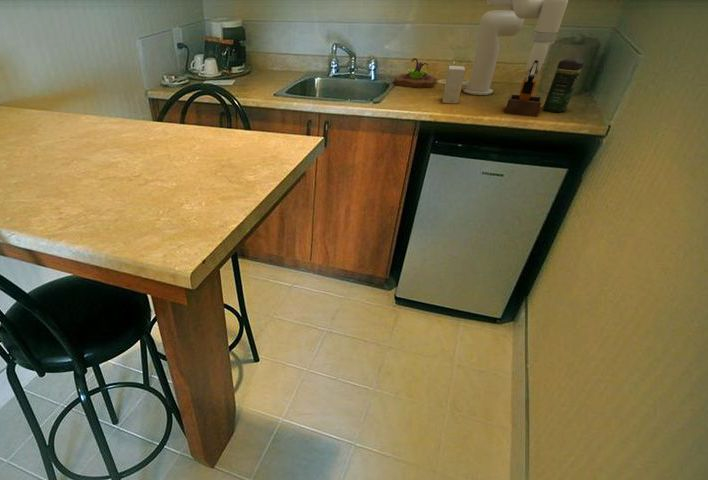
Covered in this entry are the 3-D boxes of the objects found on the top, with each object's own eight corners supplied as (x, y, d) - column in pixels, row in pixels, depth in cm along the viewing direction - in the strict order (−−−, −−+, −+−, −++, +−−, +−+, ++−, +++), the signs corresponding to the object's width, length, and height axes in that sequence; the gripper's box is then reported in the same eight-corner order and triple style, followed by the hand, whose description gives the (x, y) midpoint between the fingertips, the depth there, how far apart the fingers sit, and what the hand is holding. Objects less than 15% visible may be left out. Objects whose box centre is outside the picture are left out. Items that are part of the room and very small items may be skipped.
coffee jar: (561, 113, 158) (581, 60, 147) (540, 110, 162) (557, 58, 151) (568, 109, 163) (588, 57, 152) (547, 105, 168) (565, 54, 157)
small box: (458, 103, 171) (465, 69, 163) (442, 103, 172) (449, 68, 164) (457, 99, 177) (464, 66, 169) (442, 98, 178) (448, 65, 171)
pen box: (504, 112, 160) (508, 99, 157) (507, 107, 166) (511, 94, 163) (536, 116, 155) (541, 102, 152) (537, 110, 162) (542, 97, 159)
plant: (398, 78, 213) (402, 53, 206) (437, 80, 207) (441, 56, 200) (390, 85, 199) (393, 60, 192) (431, 89, 193) (436, 62, 186)
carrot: (525, 107, 163) (539, 65, 153) (529, 110, 159) (544, 68, 149) (512, 106, 163) (525, 65, 154) (516, 110, 159) (530, 68, 150)
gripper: (534, 33, 153) (517, 86, 164) (531, 40, 141) (513, 95, 152) (556, 35, 150) (538, 88, 161) (555, 41, 138) (535, 98, 150)
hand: (526, 91), depth 157 cm, fingers closed on carrot, 4 cm apart
